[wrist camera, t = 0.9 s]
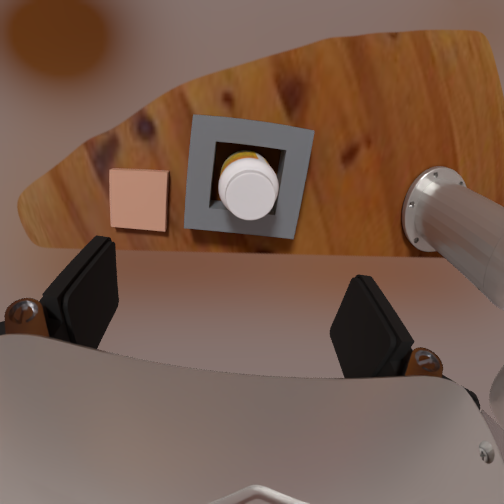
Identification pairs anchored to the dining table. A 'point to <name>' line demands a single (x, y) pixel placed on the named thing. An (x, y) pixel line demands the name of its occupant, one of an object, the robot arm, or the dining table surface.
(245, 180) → the supplement bottle
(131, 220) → the mat
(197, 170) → the frame
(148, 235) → the dining table surface
